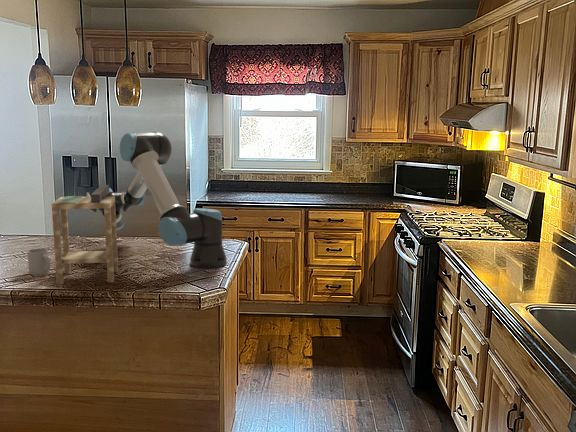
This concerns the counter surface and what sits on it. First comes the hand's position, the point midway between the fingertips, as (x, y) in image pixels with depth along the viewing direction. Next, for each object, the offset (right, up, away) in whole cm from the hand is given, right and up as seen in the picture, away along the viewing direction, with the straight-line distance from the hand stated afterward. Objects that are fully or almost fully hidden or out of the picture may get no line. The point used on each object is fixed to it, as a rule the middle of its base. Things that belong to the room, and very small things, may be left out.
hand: (104, 195), depth 236 cm
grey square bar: (+3, -1, -14) cm, 14 cm away
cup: (-21, -31, -11) cm, 39 cm away
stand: (-1, -32, -15) cm, 35 cm away
